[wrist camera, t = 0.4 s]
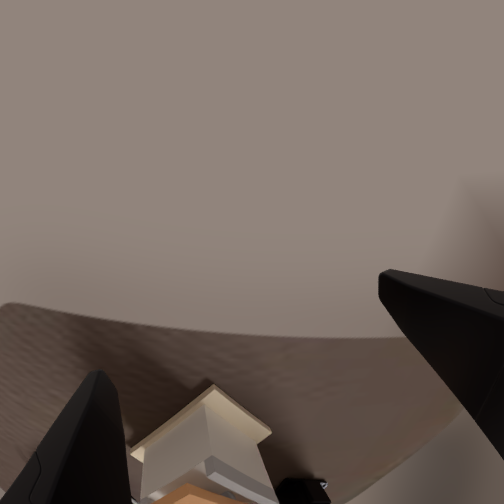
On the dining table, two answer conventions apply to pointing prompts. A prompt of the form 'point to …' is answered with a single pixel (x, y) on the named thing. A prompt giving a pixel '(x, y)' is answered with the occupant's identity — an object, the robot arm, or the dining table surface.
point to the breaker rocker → (197, 496)
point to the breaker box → (207, 451)
